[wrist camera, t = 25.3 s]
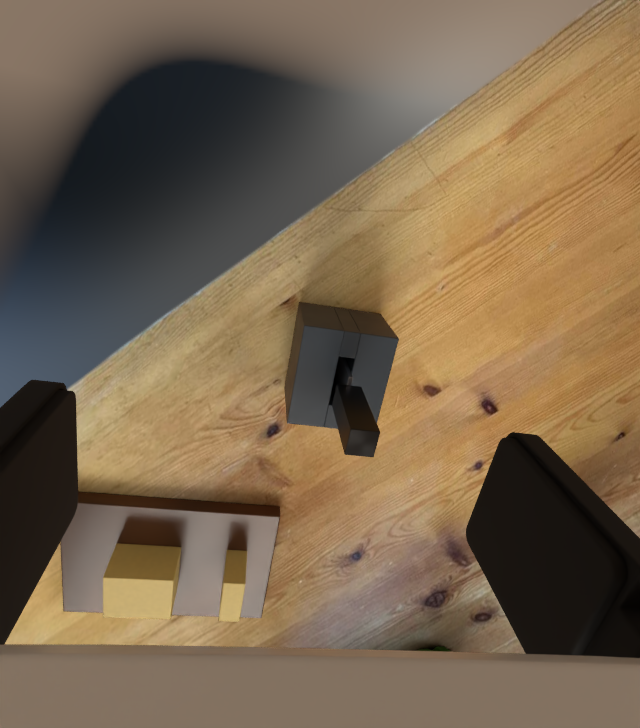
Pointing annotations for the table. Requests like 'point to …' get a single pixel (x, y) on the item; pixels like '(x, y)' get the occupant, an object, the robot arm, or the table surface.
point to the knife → (353, 414)
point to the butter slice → (233, 586)
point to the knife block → (336, 360)
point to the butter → (141, 581)
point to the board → (169, 528)
